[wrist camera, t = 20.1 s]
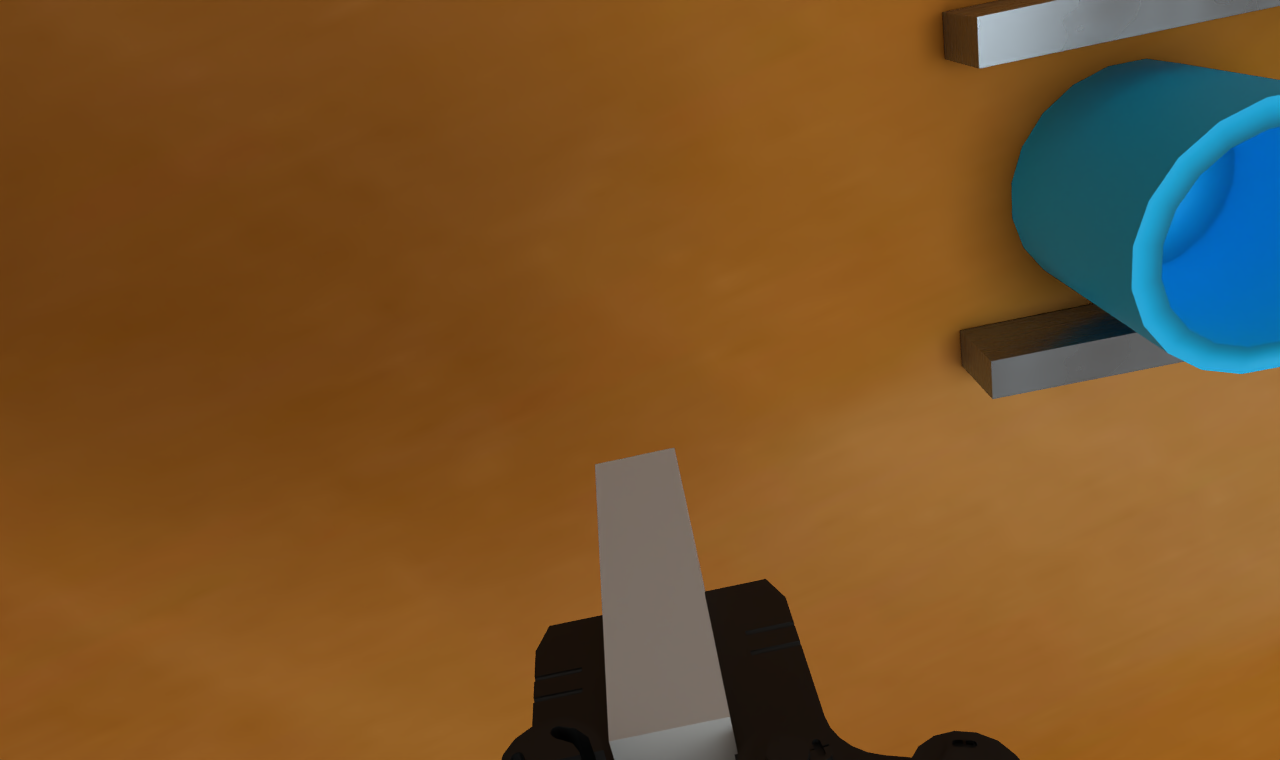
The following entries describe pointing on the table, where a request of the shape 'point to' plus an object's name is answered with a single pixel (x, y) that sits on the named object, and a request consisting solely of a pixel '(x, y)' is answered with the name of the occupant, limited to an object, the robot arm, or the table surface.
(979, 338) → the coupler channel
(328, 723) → the table surface
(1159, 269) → the mug
